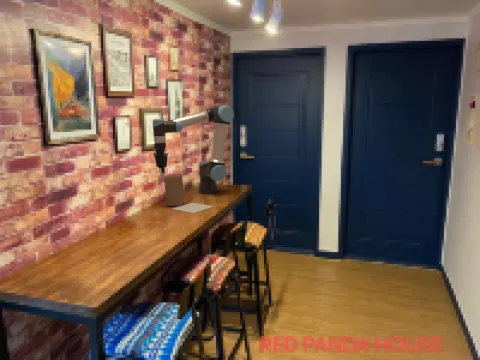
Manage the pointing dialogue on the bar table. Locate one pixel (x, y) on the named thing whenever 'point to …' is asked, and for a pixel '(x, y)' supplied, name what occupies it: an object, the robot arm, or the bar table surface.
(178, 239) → the bar table surface
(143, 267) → the bar table surface
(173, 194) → the wooden block
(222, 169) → the robot arm
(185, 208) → the mat
